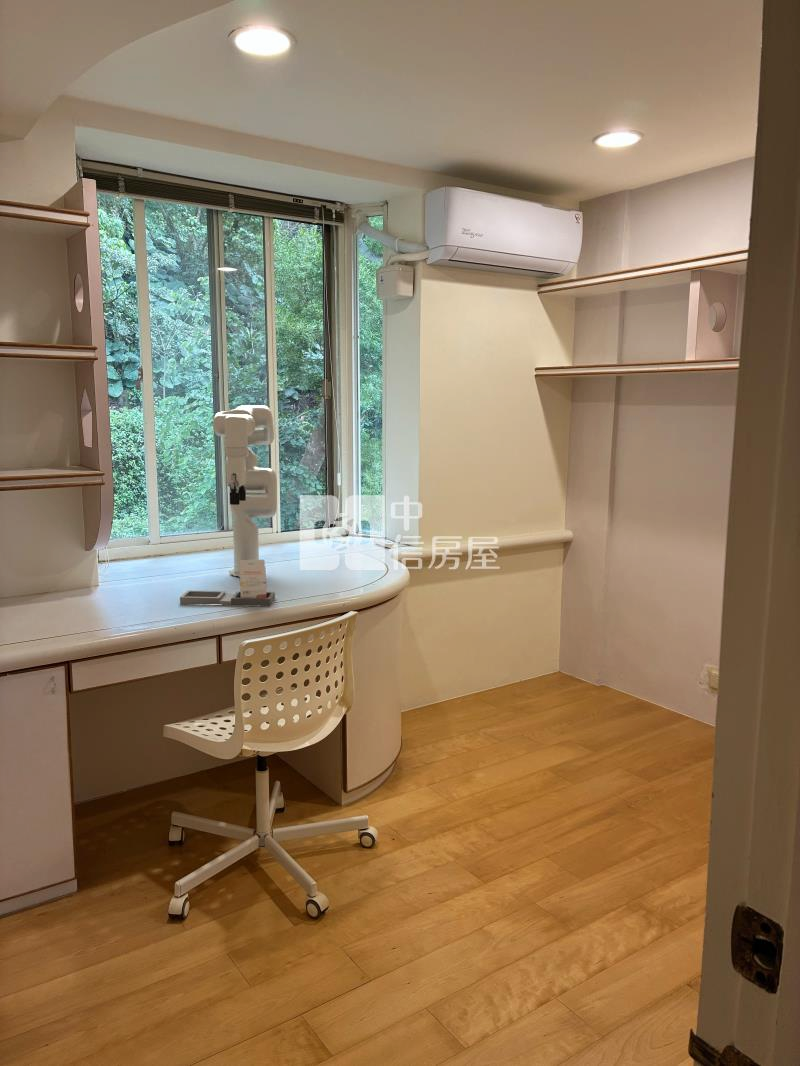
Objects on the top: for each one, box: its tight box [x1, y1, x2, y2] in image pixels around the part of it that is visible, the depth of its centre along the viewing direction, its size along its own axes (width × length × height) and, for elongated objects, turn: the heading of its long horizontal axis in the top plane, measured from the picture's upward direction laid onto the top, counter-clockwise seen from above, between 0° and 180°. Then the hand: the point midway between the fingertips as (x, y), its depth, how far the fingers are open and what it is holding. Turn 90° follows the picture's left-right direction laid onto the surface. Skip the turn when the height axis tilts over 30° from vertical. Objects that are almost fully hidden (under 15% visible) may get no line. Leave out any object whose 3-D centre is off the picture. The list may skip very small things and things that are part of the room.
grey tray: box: [219, 591, 276, 607], centre depth 267 cm, size 9×17×2 cm, turn 89°
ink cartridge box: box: [239, 559, 267, 598], centre depth 266 cm, size 9×5×15 cm, turn 98°
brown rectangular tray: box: [179, 590, 226, 605], centre depth 267 cm, size 9×13×2 cm
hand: (237, 502), depth 272 cm, fingers open, 9 cm apart
